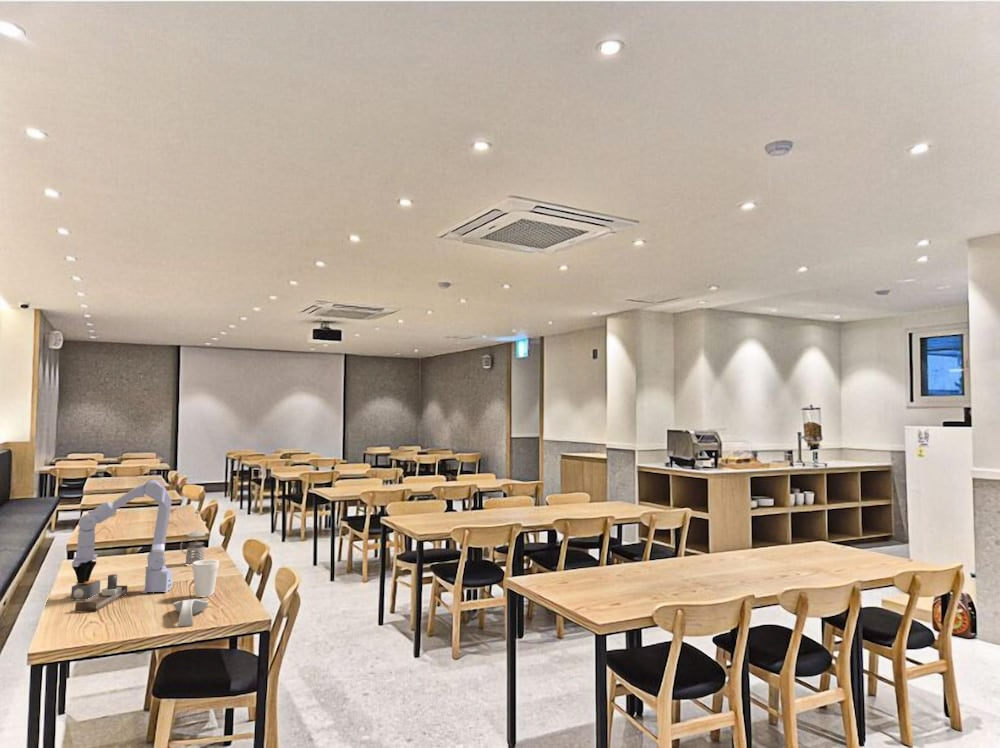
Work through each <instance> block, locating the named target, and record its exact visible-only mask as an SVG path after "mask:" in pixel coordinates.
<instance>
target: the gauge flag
mask: <svg viewBox="0 0 1000 748" xmlns="http://www.w3.org/2000/svg"><path fill="white" fill-rule="evenodd" d="M96 580H97V579H89V581H85V582H84V583H78V581H76V582H75V585H77V584H89V583H92V582H95V581H96Z"/></svg>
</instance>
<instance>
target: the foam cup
mask: <svg viewBox="0 0 1000 748" xmlns="http://www.w3.org/2000/svg"><path fill="white" fill-rule="evenodd" d="M191 567H192V573H193V581H194V582H193V583H194V584H193V585H194V593H195V594H194V595H195V597H196V596H199V597H200V596H209V595H212V594H213V593H214V594H215V589H216V588H215V587H216V582H217V577H218V571H219V570H218V569H219V567H220V561H219V560H218V559H217V560H216V559H204V560H200V561H195V562H193V566H191ZM214 594H213V595H214Z"/></svg>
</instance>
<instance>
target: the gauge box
mask: <svg viewBox="0 0 1000 748" xmlns="http://www.w3.org/2000/svg"><path fill="white" fill-rule="evenodd" d="M95 580H96V581H95V582H92V583H89V584H75V585H72V586H71V593H70V594H71V595H70V600H71V599H87V600H88V598H89V599H90V597H91V598H92V596H94V595H96V594H98V593H101V591H100V589H101V580H100V579H99V580H98V579H95Z"/></svg>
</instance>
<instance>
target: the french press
mask: <svg viewBox="0 0 1000 748" xmlns="http://www.w3.org/2000/svg"><path fill="white" fill-rule="evenodd" d="M194 514H195V515H196V518H198V514H200V510H196V511H195V513H194ZM200 537H202V538H203V537H206V533H205V532H202V531H198V528H196V529H195V531H192V532H190V533H188V534H187V537H186V538H184V539H182V540H181V543H180V551H181V552H182V553H183V554H185V563H184V564H189V565H190V564H193V562H195V561H200V560H205V550H206V547H205V542H201V541H197V538H200ZM189 538H195V541H194V542H193V541H192V542H188V541H189ZM184 541H186V542H188V543H187V547H186V552H185V551H184V549H183V542H184Z"/></svg>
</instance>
